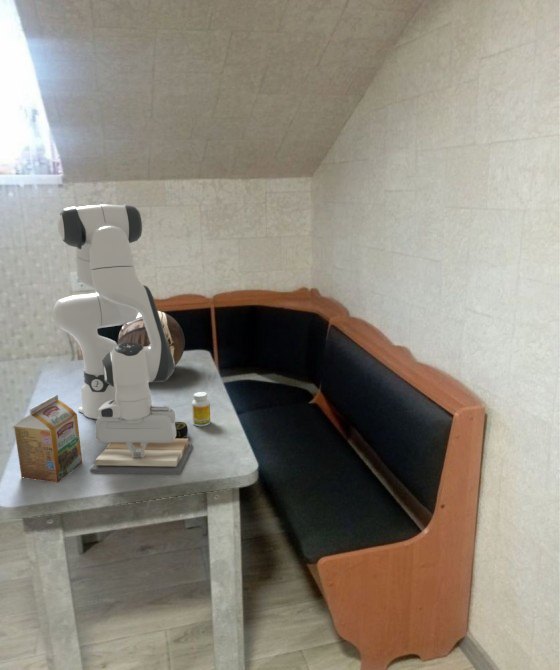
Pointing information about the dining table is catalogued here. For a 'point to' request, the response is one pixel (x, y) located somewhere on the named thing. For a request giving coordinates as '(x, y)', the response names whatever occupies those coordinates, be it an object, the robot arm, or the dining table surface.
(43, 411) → the milk carton
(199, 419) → the supplement bottle
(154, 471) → the board
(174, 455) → the ash plank
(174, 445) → the oak plank
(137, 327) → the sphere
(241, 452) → the dining table surface
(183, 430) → the tape measure
